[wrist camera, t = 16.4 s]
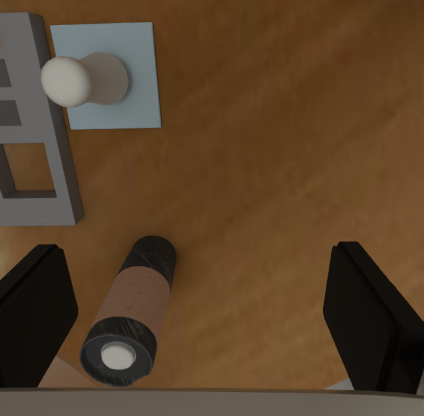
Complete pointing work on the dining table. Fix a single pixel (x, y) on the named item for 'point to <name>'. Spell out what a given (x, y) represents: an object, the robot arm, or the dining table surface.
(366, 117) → the dining table surface
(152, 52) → the rubber mat
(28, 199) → the power strip
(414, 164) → the dining table surface
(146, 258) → the travel mug
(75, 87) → the salt shaker
